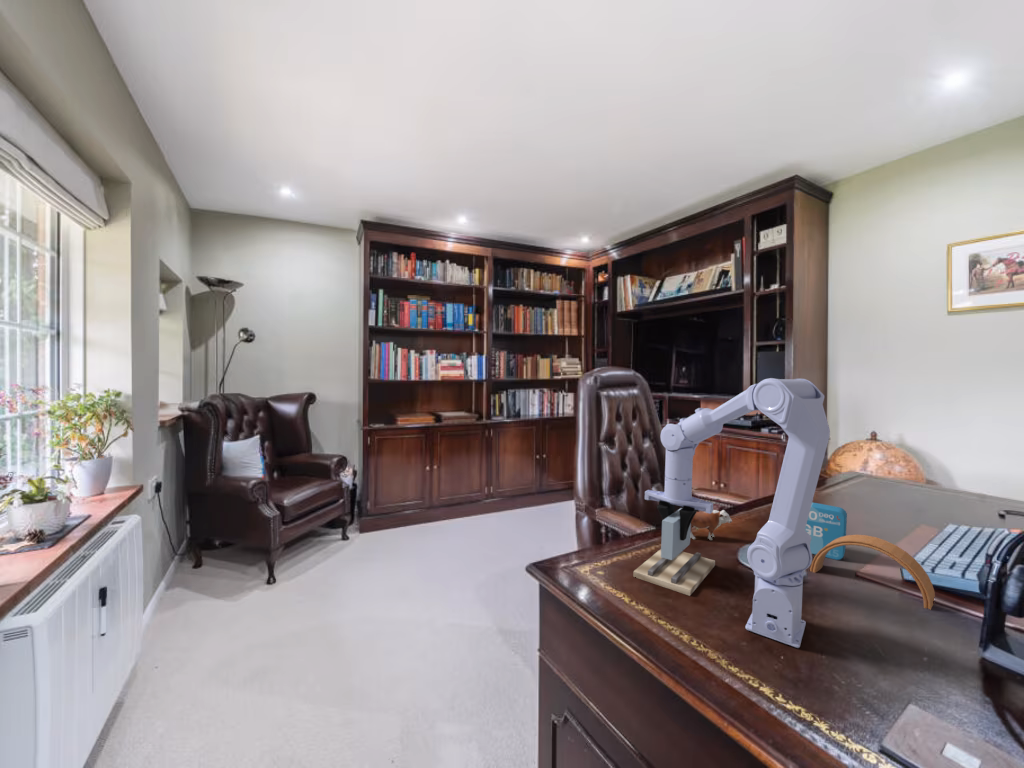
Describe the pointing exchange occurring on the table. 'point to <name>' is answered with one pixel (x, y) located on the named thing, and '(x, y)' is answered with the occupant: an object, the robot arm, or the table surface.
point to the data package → (826, 528)
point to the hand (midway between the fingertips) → (676, 537)
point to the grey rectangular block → (673, 536)
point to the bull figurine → (709, 521)
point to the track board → (675, 571)
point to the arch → (889, 550)
